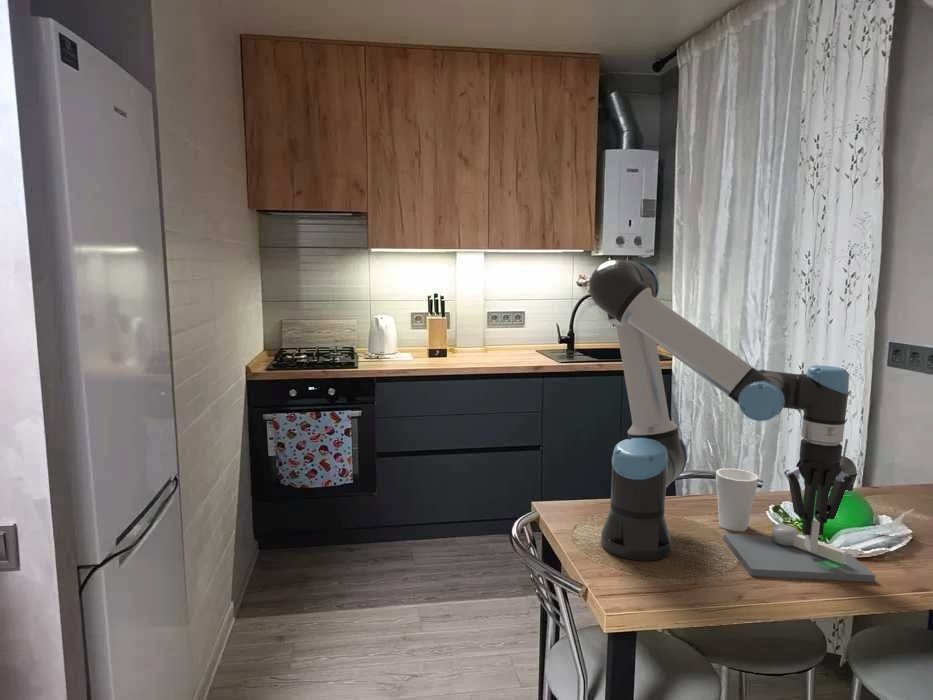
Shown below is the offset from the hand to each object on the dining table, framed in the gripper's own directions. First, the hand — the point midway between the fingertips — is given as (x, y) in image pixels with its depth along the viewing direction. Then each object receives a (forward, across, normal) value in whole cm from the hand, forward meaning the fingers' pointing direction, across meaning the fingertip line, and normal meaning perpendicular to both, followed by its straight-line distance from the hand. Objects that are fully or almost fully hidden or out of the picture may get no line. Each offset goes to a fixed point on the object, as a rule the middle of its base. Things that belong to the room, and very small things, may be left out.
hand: (810, 549), depth 131 cm
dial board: (+3, -2, +2) cm, 4 cm away
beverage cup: (+3, +20, +29) cm, 35 cm away
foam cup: (+4, -10, +19) cm, 21 cm away
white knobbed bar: (+1, +1, +3) cm, 3 cm away
